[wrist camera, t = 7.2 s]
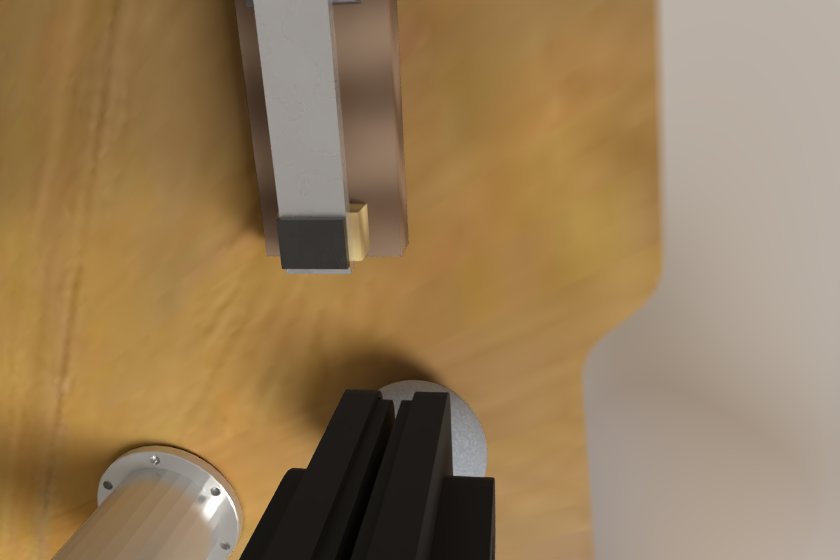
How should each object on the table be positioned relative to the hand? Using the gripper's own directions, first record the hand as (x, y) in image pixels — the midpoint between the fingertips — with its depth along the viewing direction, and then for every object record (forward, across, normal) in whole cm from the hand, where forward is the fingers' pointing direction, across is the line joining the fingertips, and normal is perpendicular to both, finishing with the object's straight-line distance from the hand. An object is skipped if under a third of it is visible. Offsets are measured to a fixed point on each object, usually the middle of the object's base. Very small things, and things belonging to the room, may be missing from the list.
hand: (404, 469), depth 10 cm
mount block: (+33, +10, -4) cm, 34 cm away
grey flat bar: (+28, +10, -3) cm, 29 cm away
